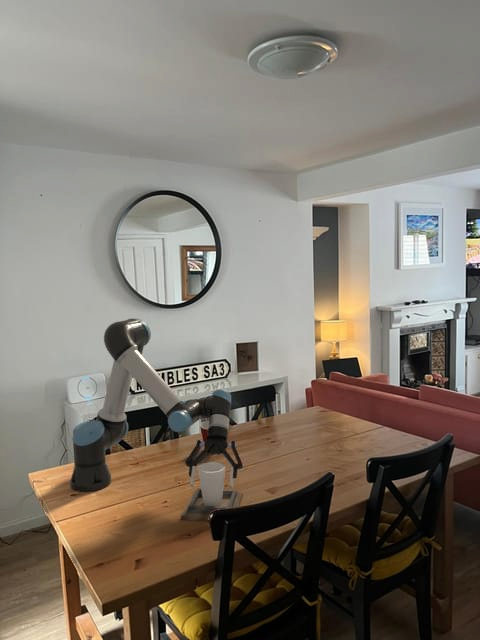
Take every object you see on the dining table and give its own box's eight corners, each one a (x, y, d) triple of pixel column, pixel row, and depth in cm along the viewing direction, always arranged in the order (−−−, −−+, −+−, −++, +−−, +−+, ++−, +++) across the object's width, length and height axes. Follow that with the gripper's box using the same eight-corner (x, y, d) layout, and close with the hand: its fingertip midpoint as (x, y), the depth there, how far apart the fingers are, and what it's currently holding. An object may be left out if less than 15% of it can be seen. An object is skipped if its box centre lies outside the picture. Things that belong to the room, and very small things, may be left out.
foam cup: (227, 497, 187) (226, 462, 185) (224, 509, 177) (223, 472, 176) (201, 496, 187) (200, 461, 186) (196, 509, 178) (195, 472, 177)
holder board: (180, 519, 174) (180, 510, 173) (194, 493, 193) (194, 484, 193) (234, 522, 171) (234, 512, 171) (242, 495, 191) (242, 486, 191)
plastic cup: (220, 454, 232) (220, 428, 230) (197, 453, 234) (196, 427, 233) (226, 446, 242) (225, 421, 241) (203, 445, 244) (202, 420, 243)
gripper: (252, 435, 194) (248, 491, 180) (186, 433, 197) (177, 489, 184) (250, 425, 188) (246, 483, 175) (182, 424, 191) (173, 480, 178)
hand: (211, 486), depth 179 cm, fingers open, 13 cm apart
